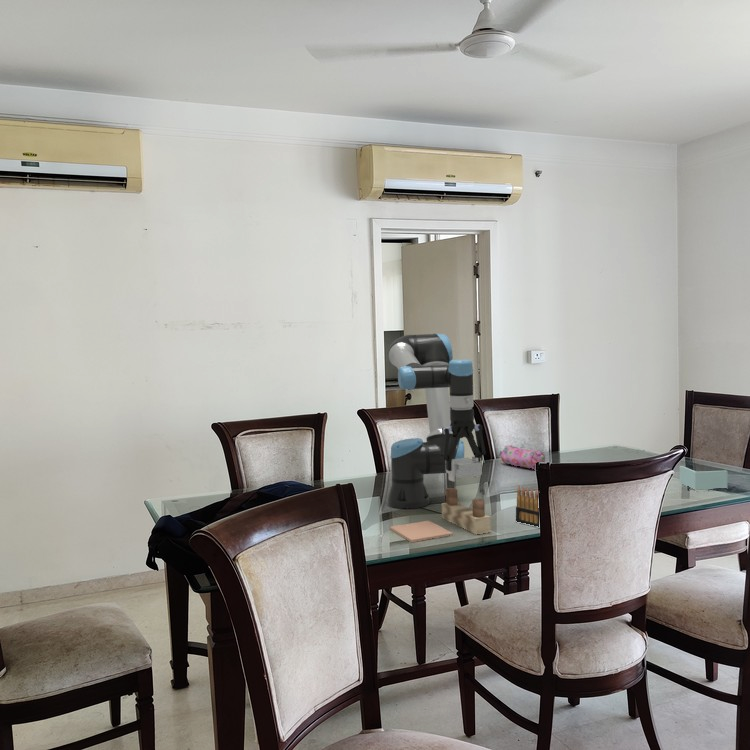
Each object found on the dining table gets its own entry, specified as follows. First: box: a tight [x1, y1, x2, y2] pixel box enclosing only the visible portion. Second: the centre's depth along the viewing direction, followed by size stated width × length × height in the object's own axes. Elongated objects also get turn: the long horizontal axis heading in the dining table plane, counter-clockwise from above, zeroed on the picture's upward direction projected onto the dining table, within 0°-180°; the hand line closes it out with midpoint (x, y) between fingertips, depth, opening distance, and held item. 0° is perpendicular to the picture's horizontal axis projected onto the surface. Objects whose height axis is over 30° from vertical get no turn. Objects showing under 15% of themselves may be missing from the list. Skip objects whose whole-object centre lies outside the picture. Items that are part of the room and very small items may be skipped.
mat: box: [389, 520, 454, 543], centre depth 214 cm, size 16×14×1 cm
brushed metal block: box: [445, 457, 483, 479], centre depth 219 cm, size 9×8×4 cm
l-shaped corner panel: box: [678, 465, 728, 490], centre depth 258 cm, size 12×12×8 cm
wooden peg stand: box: [441, 487, 491, 536], centre depth 220 cm, size 22×5×10 cm, turn 23°
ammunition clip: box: [515, 485, 539, 527], centre depth 218 cm, size 11×2×12 cm, turn 38°
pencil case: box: [499, 445, 546, 471], centre depth 308 cm, size 21×9×9 cm, turn 30°
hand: (463, 478), depth 220 cm, fingers closed on brushed metal block, 8 cm apart
